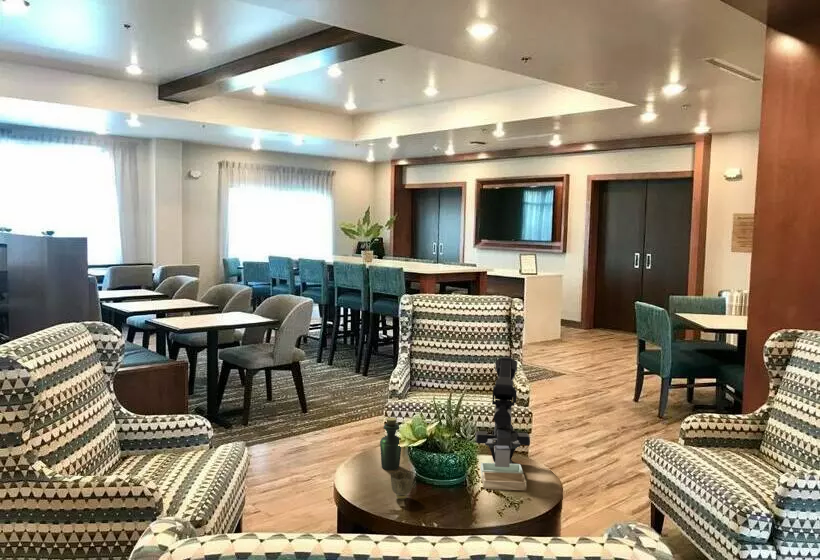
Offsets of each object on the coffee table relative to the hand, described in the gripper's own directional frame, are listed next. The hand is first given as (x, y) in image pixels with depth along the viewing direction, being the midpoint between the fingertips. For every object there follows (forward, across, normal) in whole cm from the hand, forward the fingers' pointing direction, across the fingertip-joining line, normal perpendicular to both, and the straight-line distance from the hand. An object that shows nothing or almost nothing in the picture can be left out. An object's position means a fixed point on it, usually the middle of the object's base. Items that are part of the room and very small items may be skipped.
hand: (501, 461), depth 225 cm
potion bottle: (+6, -40, +5) cm, 41 cm away
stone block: (+1, 0, 0) cm, 1 cm away
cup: (+6, -34, -23) cm, 41 cm away
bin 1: (+6, 0, 0) cm, 6 cm away
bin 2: (+6, 0, -10) cm, 11 cm away
